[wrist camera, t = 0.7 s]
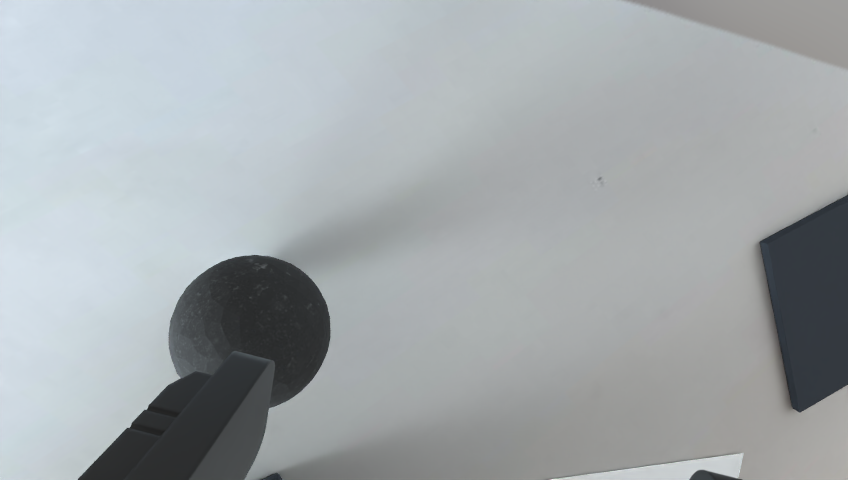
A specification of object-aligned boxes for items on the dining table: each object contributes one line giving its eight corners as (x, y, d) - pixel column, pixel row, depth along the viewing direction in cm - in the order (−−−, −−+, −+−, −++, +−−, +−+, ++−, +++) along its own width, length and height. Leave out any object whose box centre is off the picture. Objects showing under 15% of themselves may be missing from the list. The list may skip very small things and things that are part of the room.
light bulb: (337, 301, 27) (359, 404, 17) (233, 342, 26) (196, 474, 16) (297, 203, 25) (297, 256, 15) (185, 243, 24) (112, 326, 15)
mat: (759, 241, 32) (767, 243, 32) (881, 176, 34) (891, 178, 33) (792, 408, 37) (800, 413, 36) (899, 346, 38) (908, 349, 37)
